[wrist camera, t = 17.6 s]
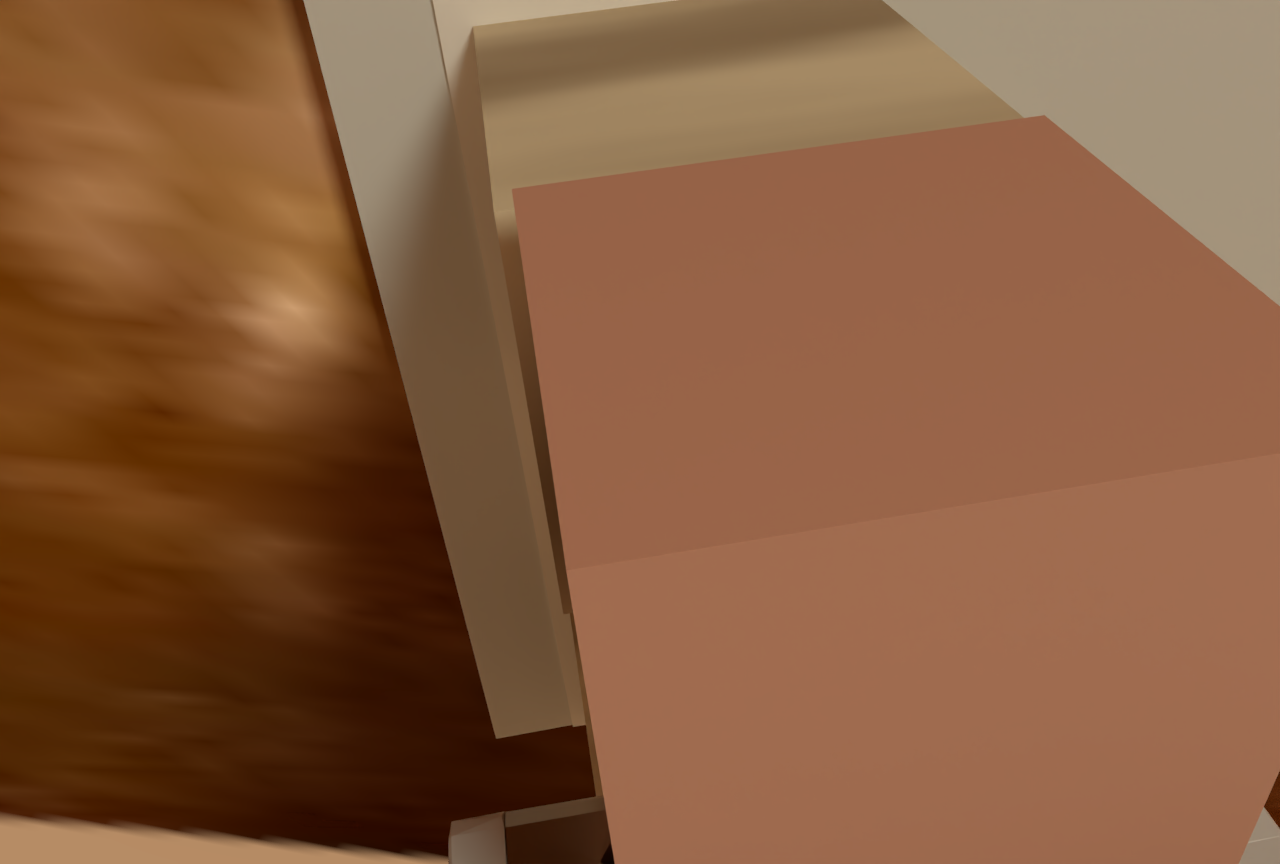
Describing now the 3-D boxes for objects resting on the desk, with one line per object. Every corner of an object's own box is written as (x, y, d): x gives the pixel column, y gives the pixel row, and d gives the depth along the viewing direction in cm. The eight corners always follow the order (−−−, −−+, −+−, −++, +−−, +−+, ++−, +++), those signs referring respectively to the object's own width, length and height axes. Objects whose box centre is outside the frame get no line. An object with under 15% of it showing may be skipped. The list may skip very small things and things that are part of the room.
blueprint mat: (293, -59, 12) (289, -49, 12) (1958, -273, 14) (1999, -270, 13) (495, 721, 20) (496, 741, 20) (1528, 534, 22) (1547, 549, 21)
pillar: (472, 25, 13) (494, 213, 9) (854, -23, 13) (1045, 134, 9) (528, 356, 15) (562, 614, 11) (843, 308, 16) (984, 543, 12)
